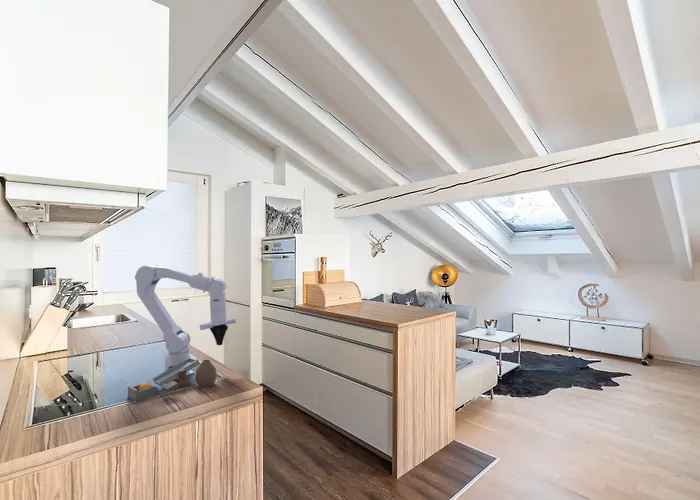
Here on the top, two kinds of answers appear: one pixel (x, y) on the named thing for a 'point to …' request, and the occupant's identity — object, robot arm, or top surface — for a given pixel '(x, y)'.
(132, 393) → the grey open box
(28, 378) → the top surface
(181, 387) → the stand
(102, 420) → the top surface
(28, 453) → the top surface
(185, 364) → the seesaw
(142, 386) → the ball
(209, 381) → the vase
